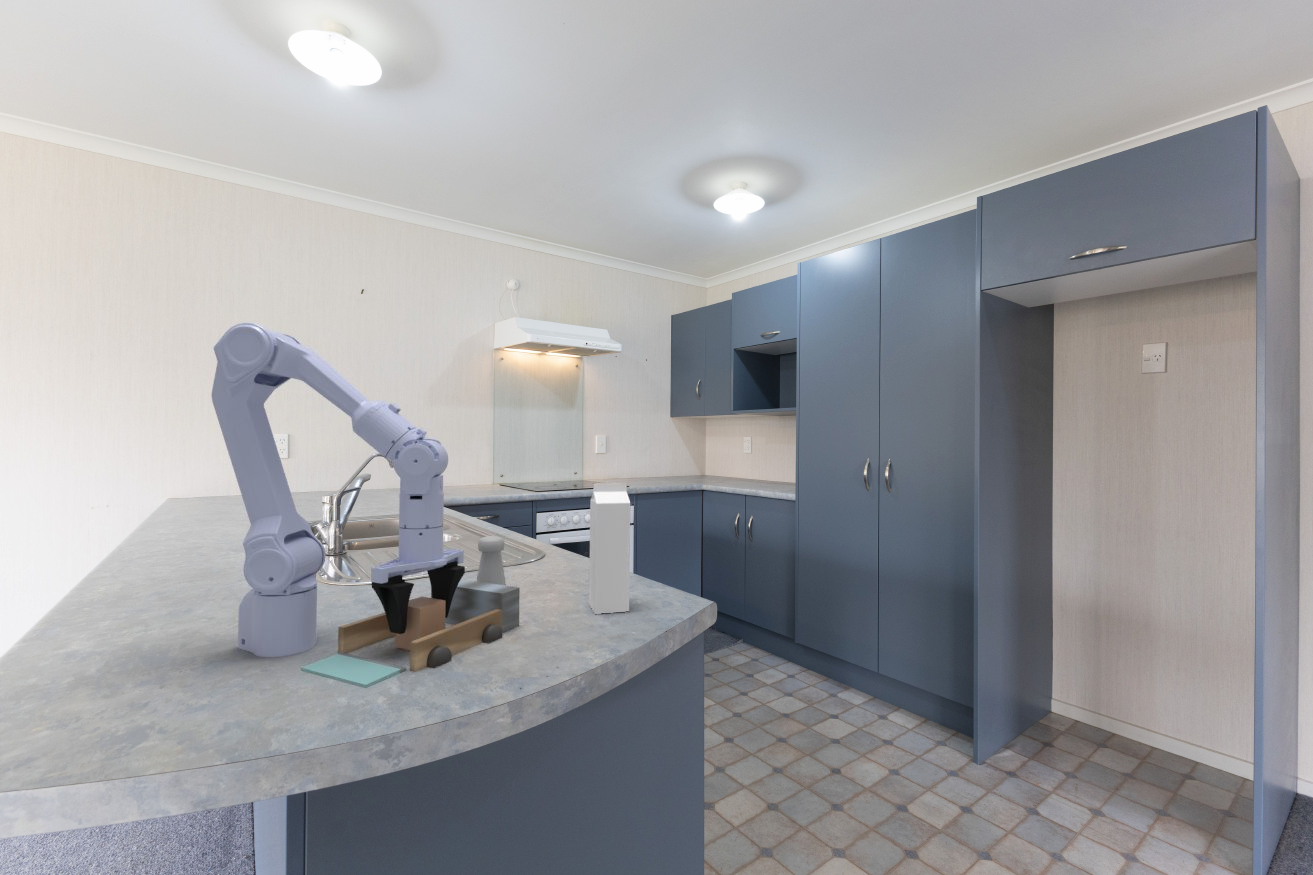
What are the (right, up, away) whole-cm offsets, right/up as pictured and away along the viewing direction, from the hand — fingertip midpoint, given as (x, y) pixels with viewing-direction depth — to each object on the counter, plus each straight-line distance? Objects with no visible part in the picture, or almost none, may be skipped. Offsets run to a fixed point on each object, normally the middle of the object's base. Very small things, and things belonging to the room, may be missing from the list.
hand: (420, 624), depth 82 cm
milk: (+24, -4, +22) cm, 33 cm away
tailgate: (-3, -3, -7) cm, 8 cm away
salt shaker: (+5, -4, +18) cm, 19 cm away
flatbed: (+1, -4, +3) cm, 5 cm away
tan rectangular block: (0, -3, 0) cm, 3 cm away
